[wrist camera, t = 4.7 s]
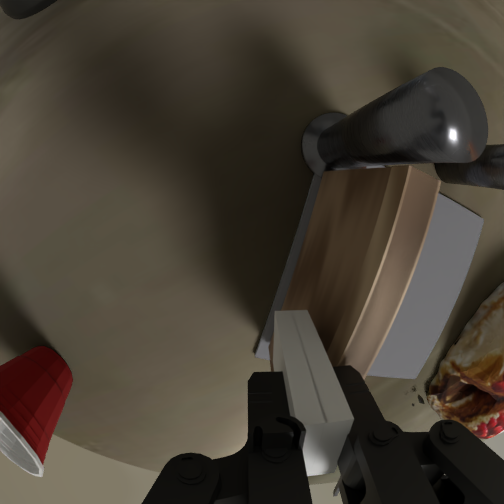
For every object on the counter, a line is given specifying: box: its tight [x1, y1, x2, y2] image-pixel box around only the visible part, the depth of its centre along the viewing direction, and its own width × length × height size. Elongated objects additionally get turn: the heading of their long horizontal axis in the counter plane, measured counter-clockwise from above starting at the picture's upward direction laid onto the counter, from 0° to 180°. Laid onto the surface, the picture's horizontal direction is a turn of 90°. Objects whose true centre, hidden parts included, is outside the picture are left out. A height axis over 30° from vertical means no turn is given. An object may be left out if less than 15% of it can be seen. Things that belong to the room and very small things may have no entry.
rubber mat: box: [255, 165, 484, 379], centre depth 21 cm, size 17×17×1 cm
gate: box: [268, 165, 441, 379], centre depth 14 cm, size 14×1×11 cm, turn 165°
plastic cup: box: [0, 346, 73, 477], centre depth 17 cm, size 11×11×12 cm
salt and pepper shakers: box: [301, 67, 504, 190], centre depth 12 cm, size 7×14×13 cm, turn 74°
